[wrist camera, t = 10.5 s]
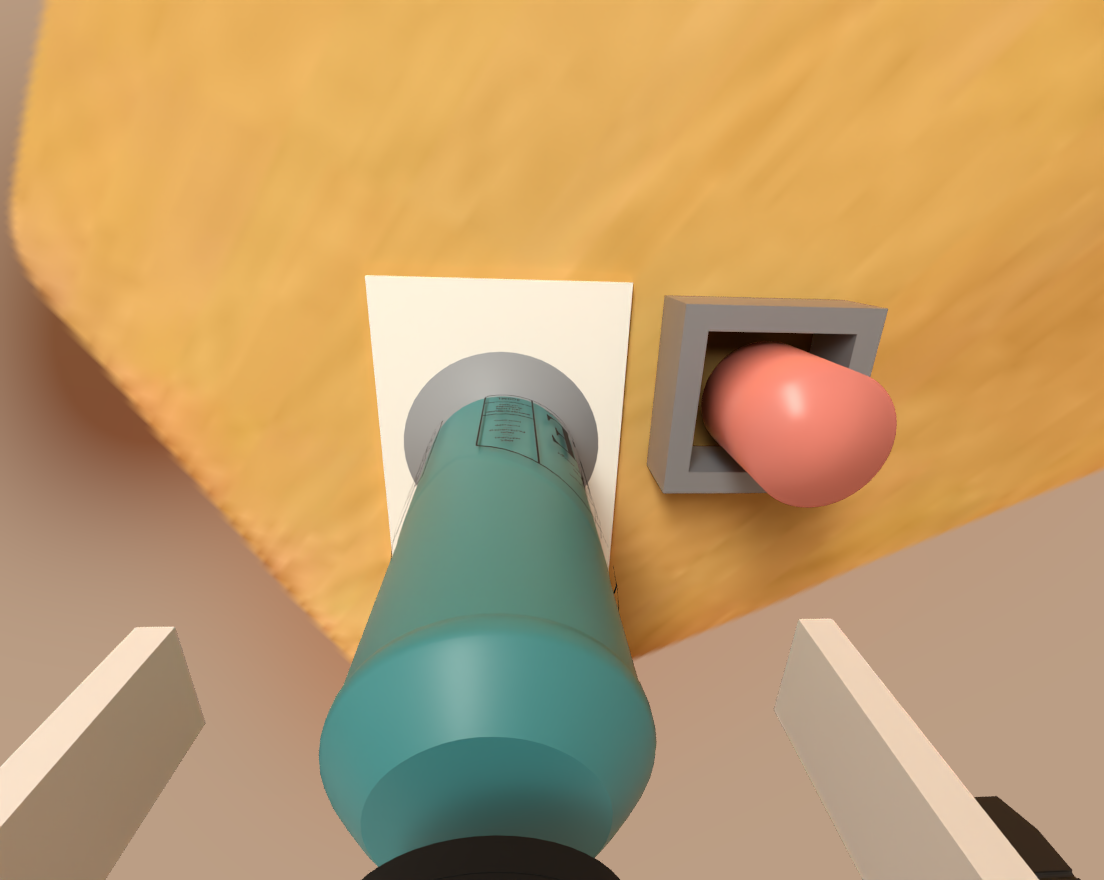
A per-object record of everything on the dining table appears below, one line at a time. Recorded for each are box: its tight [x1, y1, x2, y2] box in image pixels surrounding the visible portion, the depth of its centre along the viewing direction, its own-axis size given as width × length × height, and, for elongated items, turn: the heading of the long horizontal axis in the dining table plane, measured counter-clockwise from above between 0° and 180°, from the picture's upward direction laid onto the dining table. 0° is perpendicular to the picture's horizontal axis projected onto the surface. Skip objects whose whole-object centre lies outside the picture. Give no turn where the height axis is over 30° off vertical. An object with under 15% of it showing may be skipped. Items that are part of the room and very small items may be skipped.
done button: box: [701, 341, 897, 507], centre depth 20 cm, size 5×5×5 cm
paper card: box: [365, 275, 633, 571], centre depth 24 cm, size 15×11×1 cm
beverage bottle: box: [319, 395, 656, 880], centre depth 15 cm, size 6×7×20 cm
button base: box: [647, 296, 888, 493], centre depth 22 cm, size 8×8×3 cm
